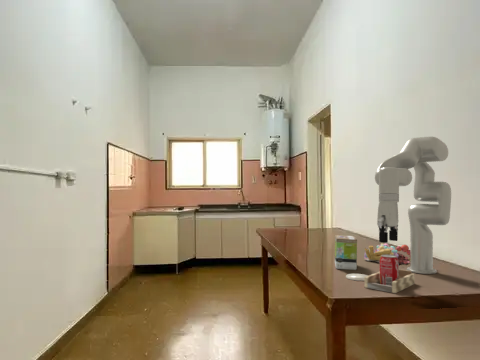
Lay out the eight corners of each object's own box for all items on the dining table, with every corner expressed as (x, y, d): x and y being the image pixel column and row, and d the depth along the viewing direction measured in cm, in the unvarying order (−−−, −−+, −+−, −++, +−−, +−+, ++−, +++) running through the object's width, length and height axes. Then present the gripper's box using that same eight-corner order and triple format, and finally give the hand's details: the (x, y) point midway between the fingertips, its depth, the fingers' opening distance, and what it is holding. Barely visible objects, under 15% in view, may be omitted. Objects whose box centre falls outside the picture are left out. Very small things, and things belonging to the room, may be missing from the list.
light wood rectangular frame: (385, 278, 165) (385, 267, 165) (414, 283, 157) (414, 271, 157) (364, 287, 150) (364, 274, 150) (395, 293, 142) (395, 279, 142)
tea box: (357, 270, 182) (357, 238, 183) (335, 269, 184) (335, 238, 185) (354, 264, 197) (354, 235, 197) (334, 263, 199) (334, 234, 199)
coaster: (352, 274, 173) (352, 272, 173) (374, 278, 166) (374, 276, 166) (341, 278, 166) (341, 276, 166) (363, 282, 159) (363, 280, 159)
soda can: (393, 283, 156) (393, 254, 157) (401, 288, 149) (401, 257, 149) (376, 283, 156) (376, 254, 156) (383, 288, 149) (383, 257, 149)
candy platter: (404, 267, 191) (404, 248, 191) (358, 261, 205) (358, 244, 206) (416, 260, 211) (416, 243, 211) (373, 255, 225) (373, 239, 226)
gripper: (388, 198, 162) (387, 239, 162) (370, 197, 150) (369, 242, 149) (406, 198, 157) (406, 240, 156) (389, 198, 144) (389, 244, 144)
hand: (388, 241), depth 153 cm, fingers open, 9 cm apart
